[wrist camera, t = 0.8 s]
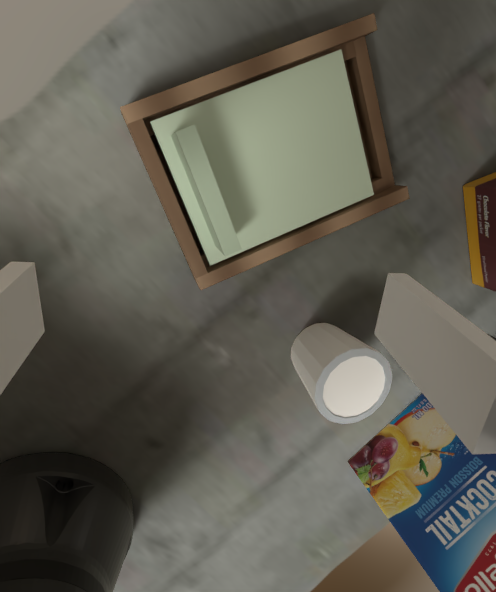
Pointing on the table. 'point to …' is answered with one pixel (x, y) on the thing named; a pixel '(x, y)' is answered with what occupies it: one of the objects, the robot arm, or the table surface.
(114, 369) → the table surface
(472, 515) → the juice carton
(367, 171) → the lid
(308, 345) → the white cup
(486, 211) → the supplement box
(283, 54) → the box
